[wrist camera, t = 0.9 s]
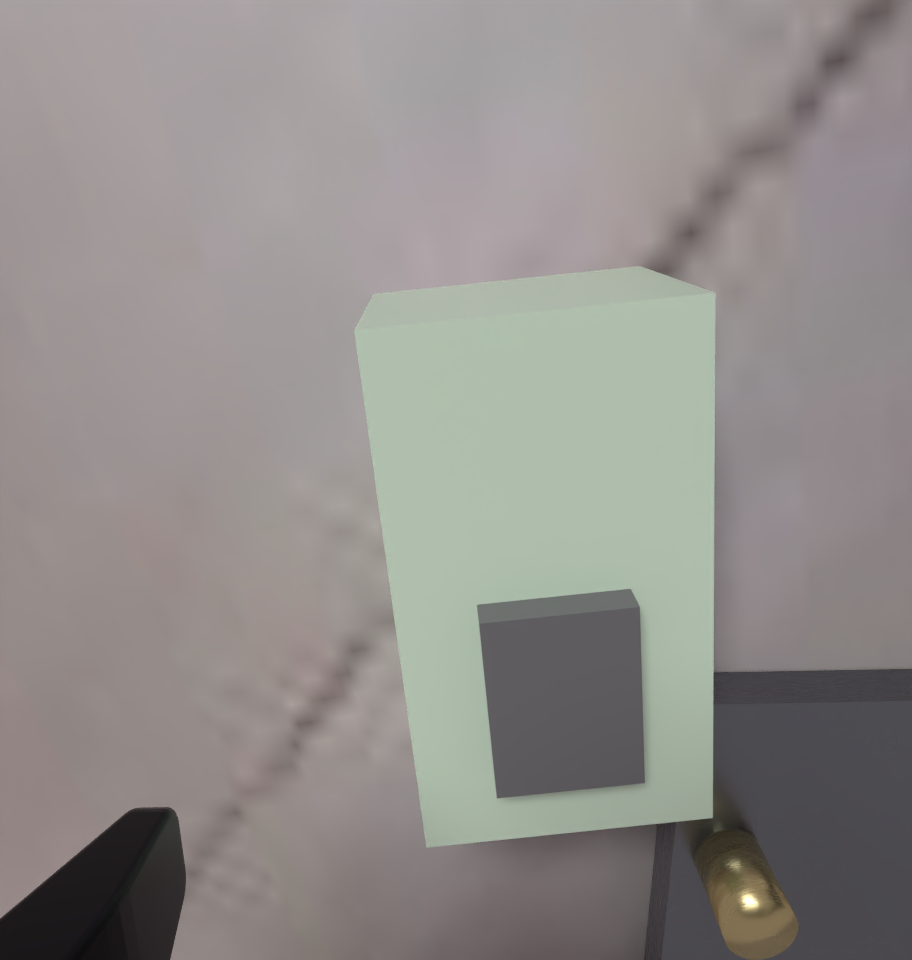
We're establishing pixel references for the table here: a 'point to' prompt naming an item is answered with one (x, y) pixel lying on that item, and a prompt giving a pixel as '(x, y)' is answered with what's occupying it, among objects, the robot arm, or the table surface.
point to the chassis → (795, 825)
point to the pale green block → (549, 546)
